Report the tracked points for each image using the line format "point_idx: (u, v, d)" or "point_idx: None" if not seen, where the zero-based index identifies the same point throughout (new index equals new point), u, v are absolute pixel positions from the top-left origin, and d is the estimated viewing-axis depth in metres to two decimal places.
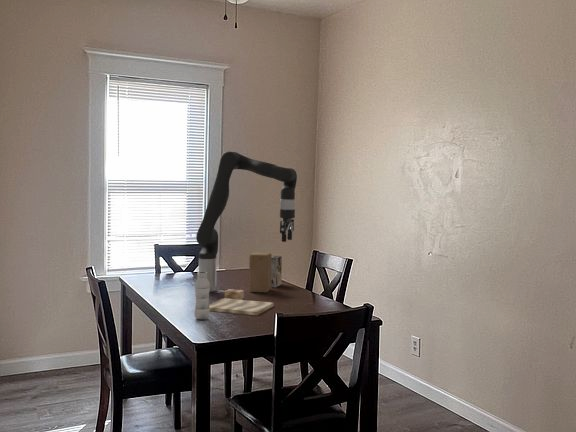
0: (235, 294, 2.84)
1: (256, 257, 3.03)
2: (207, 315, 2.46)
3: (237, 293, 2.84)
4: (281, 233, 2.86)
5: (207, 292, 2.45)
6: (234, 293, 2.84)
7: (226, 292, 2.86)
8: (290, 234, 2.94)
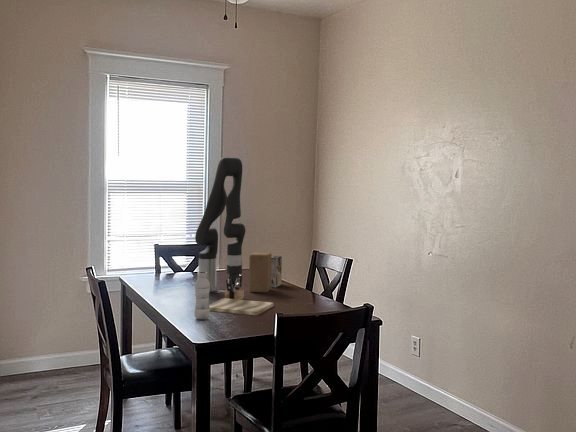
0: (234, 294, 2.84)
1: (256, 257, 3.03)
2: (207, 315, 2.46)
3: (236, 293, 2.84)
4: None
5: (207, 292, 2.45)
6: None
7: (226, 291, 2.86)
8: None
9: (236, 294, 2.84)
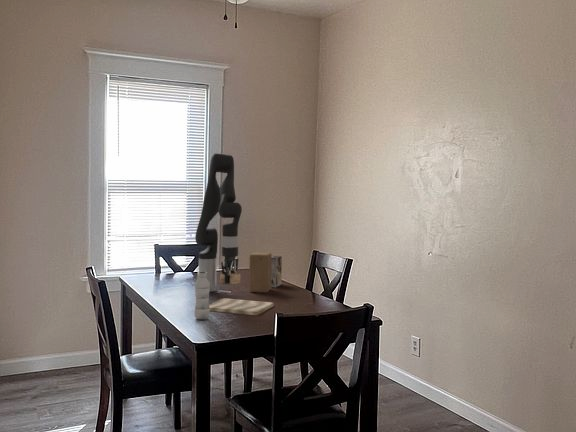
0: (230, 277, 2.67)
1: (256, 257, 3.03)
2: (207, 315, 2.46)
3: (232, 276, 2.66)
4: (224, 274, 2.66)
5: (207, 292, 2.45)
6: None
7: (221, 275, 2.69)
8: None
9: (232, 278, 2.66)
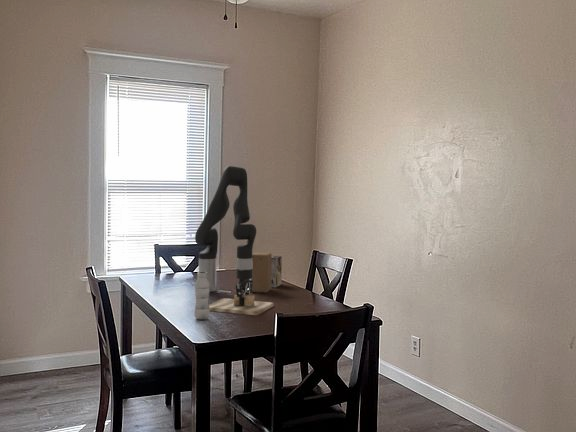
0: (245, 299, 2.65)
1: (256, 257, 3.03)
2: (207, 315, 2.46)
3: (247, 298, 2.64)
4: (238, 296, 2.64)
5: (207, 292, 2.45)
6: None
7: (235, 297, 2.67)
8: None
9: (246, 300, 2.64)
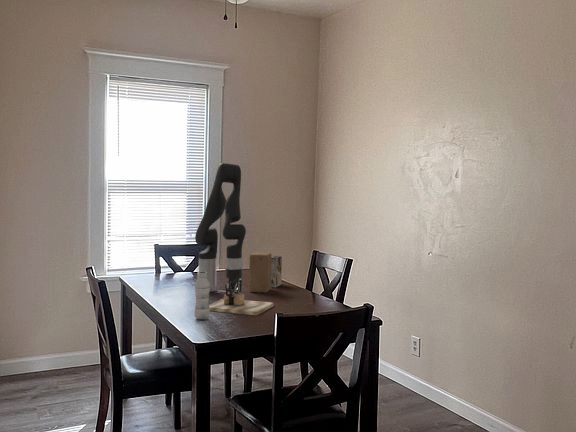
0: (235, 298, 2.67)
1: (256, 257, 3.03)
2: (207, 315, 2.46)
3: (237, 297, 2.66)
4: (228, 296, 2.67)
5: (207, 292, 2.45)
6: (234, 297, 2.67)
7: (225, 296, 2.69)
8: None
9: (237, 298, 2.67)
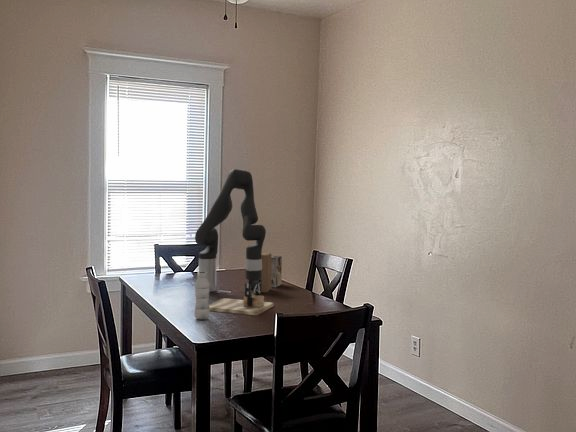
0: (255, 300, 2.64)
1: None
2: (207, 315, 2.46)
3: (257, 299, 2.63)
4: (246, 296, 2.62)
5: (207, 292, 2.45)
6: (254, 299, 2.64)
7: (245, 298, 2.65)
8: None
9: (257, 300, 2.63)
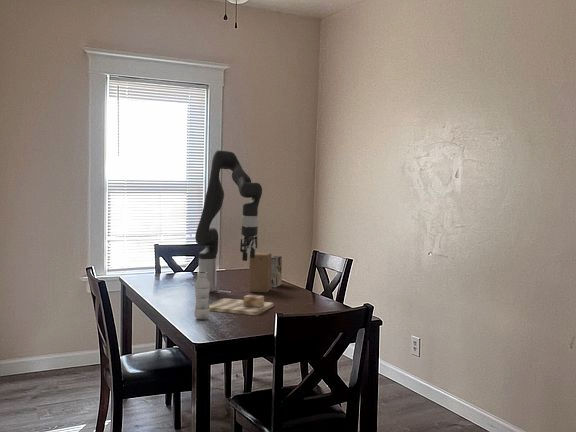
0: (255, 300, 2.64)
1: (256, 257, 3.03)
2: (207, 315, 2.46)
3: (257, 299, 2.63)
4: (242, 252, 2.70)
5: (207, 292, 2.45)
6: (254, 299, 2.64)
7: (245, 298, 2.65)
8: (253, 252, 2.78)
9: (257, 300, 2.63)
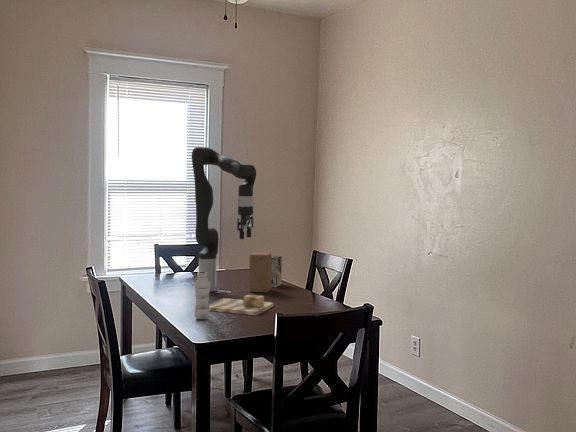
0: (255, 300, 2.64)
1: (256, 257, 3.03)
2: (207, 315, 2.46)
3: (257, 299, 2.63)
4: (239, 230, 2.83)
5: (207, 292, 2.45)
6: (254, 299, 2.64)
7: (245, 298, 2.65)
8: (249, 231, 2.91)
9: (257, 300, 2.63)
